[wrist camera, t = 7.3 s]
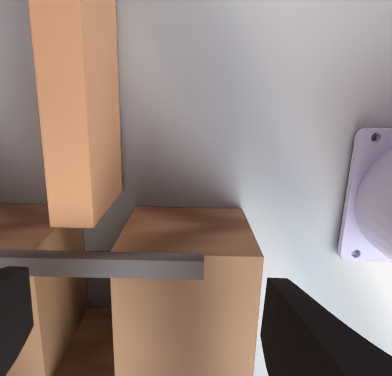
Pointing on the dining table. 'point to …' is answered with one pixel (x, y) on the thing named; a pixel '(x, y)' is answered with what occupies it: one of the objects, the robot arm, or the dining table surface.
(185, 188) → the dining table surface
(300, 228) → the dining table surface
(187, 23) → the dining table surface
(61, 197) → the tall wooden plank
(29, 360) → the wooden block
